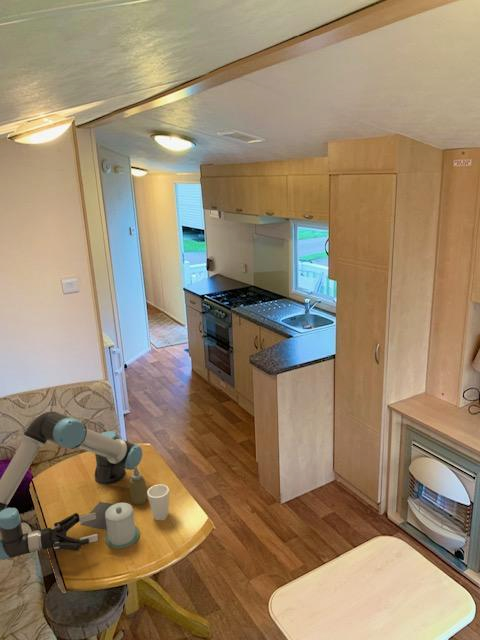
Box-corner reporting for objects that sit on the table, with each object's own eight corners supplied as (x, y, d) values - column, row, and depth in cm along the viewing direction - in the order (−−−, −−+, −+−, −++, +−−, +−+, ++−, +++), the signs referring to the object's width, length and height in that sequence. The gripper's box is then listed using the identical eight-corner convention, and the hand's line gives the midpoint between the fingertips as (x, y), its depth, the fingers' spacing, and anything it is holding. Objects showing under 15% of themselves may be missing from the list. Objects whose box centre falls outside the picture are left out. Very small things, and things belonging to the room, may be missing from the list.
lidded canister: (117, 524, 213) (113, 496, 209) (140, 528, 210) (136, 500, 206) (103, 542, 203) (99, 513, 199) (127, 546, 200) (123, 518, 196)
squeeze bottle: (136, 509, 224) (132, 475, 218) (127, 501, 229) (123, 467, 224) (151, 501, 229) (148, 467, 223) (142, 493, 234) (138, 460, 229)
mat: (99, 502, 229) (99, 501, 229) (126, 506, 226) (126, 506, 225) (79, 525, 215) (79, 524, 215) (108, 530, 211) (108, 530, 211)
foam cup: (167, 524, 213) (164, 498, 210) (146, 522, 215) (144, 496, 211) (174, 509, 222) (171, 485, 218) (154, 507, 224) (152, 483, 220)
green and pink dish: (116, 523, 215) (115, 514, 214) (145, 528, 211) (144, 519, 210) (99, 546, 202) (97, 536, 201) (129, 552, 199) (128, 542, 197)
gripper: (43, 527, 208) (95, 514, 214) (41, 570, 185) (99, 554, 191) (41, 512, 205) (93, 500, 212) (38, 554, 183) (97, 538, 189)
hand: (96, 526), depth 201 cm, fingers open, 13 cm apart
